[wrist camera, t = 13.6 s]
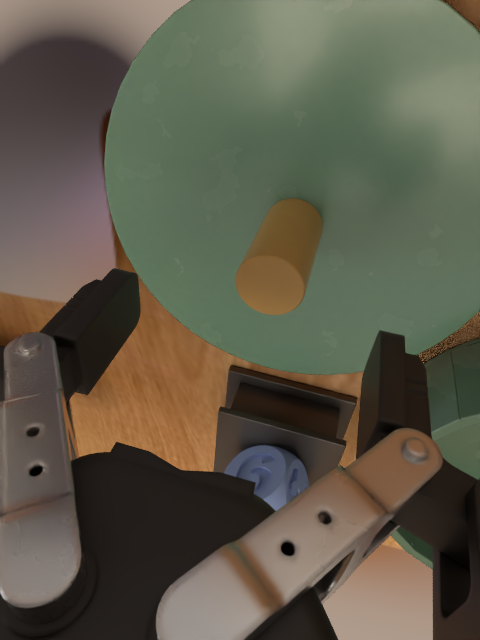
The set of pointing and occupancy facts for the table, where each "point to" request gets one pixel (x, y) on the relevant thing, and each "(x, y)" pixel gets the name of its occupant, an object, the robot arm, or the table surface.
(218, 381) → the table surface
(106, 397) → the table surface
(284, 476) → the decorative dice
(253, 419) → the stand
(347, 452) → the table surface
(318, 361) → the tin lid
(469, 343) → the tin
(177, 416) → the table surface
